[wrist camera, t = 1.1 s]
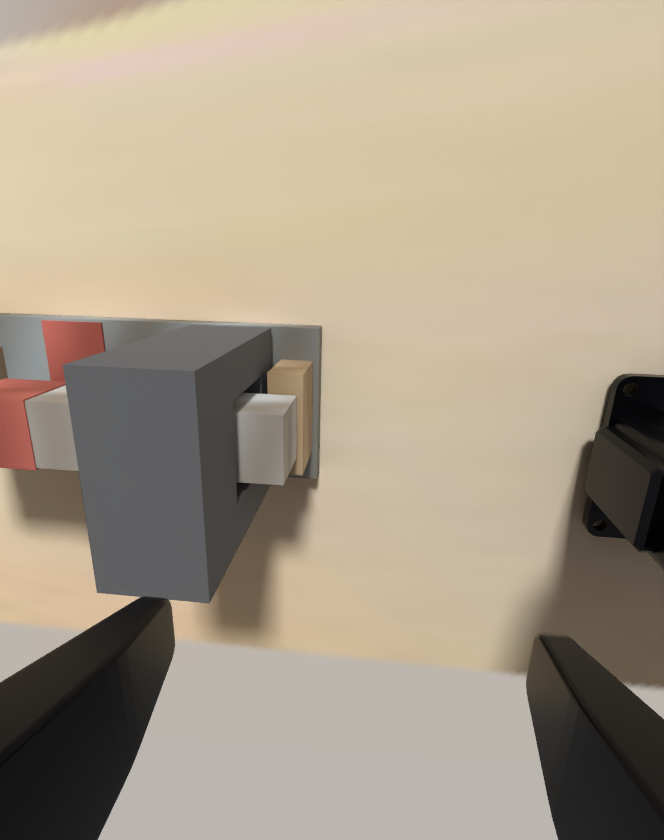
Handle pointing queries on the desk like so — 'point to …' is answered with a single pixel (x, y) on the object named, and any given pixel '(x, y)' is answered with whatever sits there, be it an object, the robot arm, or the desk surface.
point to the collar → (166, 457)
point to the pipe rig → (85, 336)
